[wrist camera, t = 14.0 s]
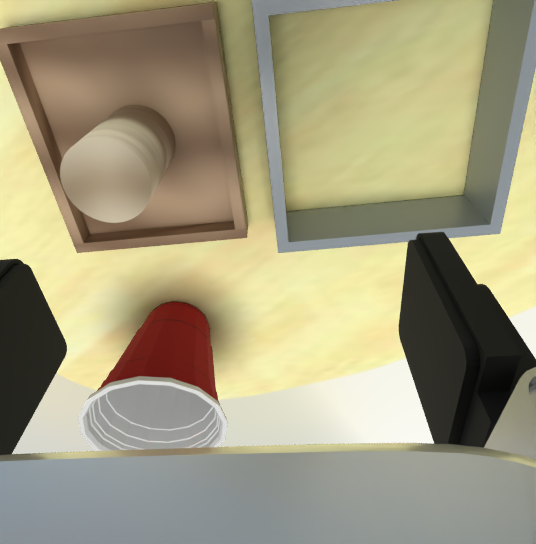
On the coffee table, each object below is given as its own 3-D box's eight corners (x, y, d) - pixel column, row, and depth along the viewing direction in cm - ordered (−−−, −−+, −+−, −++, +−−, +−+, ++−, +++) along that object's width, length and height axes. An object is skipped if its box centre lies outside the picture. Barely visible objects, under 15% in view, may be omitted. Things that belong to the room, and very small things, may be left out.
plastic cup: (192, 381, 46) (171, 492, 36) (102, 328, 42) (50, 436, 32) (260, 323, 42) (258, 430, 32) (166, 257, 38) (129, 357, 28)
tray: (7, 27, 28) (-12, 30, 26) (216, 2, 27) (212, 3, 26) (87, 238, 37) (77, 252, 35) (248, 224, 36) (246, 237, 34)
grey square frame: (254, -3, 27) (251, -1, 23) (512, -35, 26) (557, -38, 22) (277, 221, 36) (278, 252, 32) (472, 203, 35) (500, 233, 31)
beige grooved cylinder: (95, 108, 30) (46, 143, 24) (166, 100, 30) (137, 133, 23) (116, 177, 33) (78, 226, 26) (182, 170, 33) (160, 218, 26)
